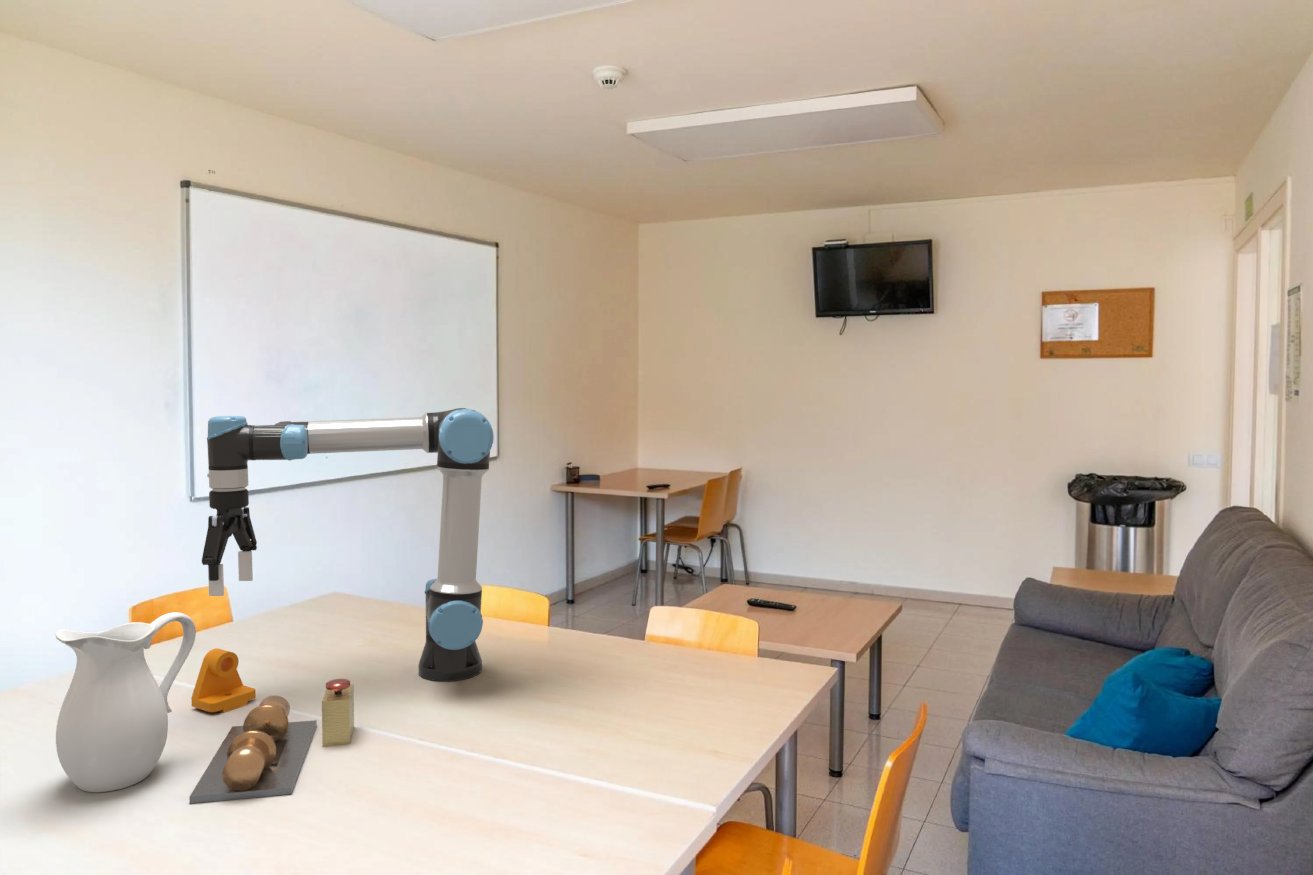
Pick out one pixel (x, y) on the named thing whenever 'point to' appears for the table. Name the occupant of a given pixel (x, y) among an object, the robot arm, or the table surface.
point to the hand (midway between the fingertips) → (231, 587)
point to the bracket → (220, 683)
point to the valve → (338, 713)
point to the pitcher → (116, 705)
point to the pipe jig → (257, 756)
